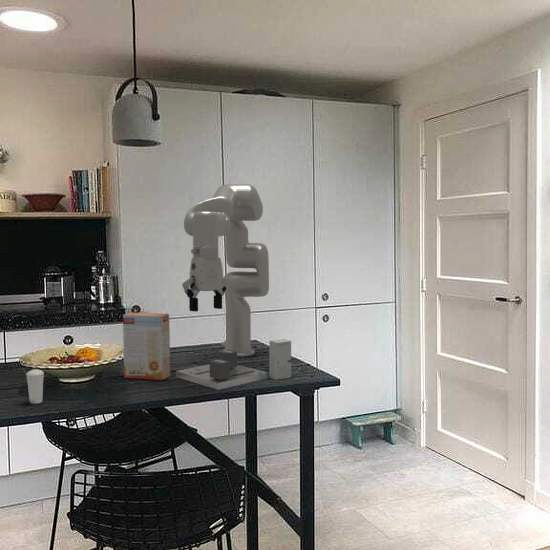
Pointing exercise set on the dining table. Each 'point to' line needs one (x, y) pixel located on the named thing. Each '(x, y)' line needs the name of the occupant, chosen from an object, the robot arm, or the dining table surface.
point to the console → (236, 378)
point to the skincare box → (280, 359)
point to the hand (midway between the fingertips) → (206, 309)
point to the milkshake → (35, 385)
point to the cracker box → (146, 346)
